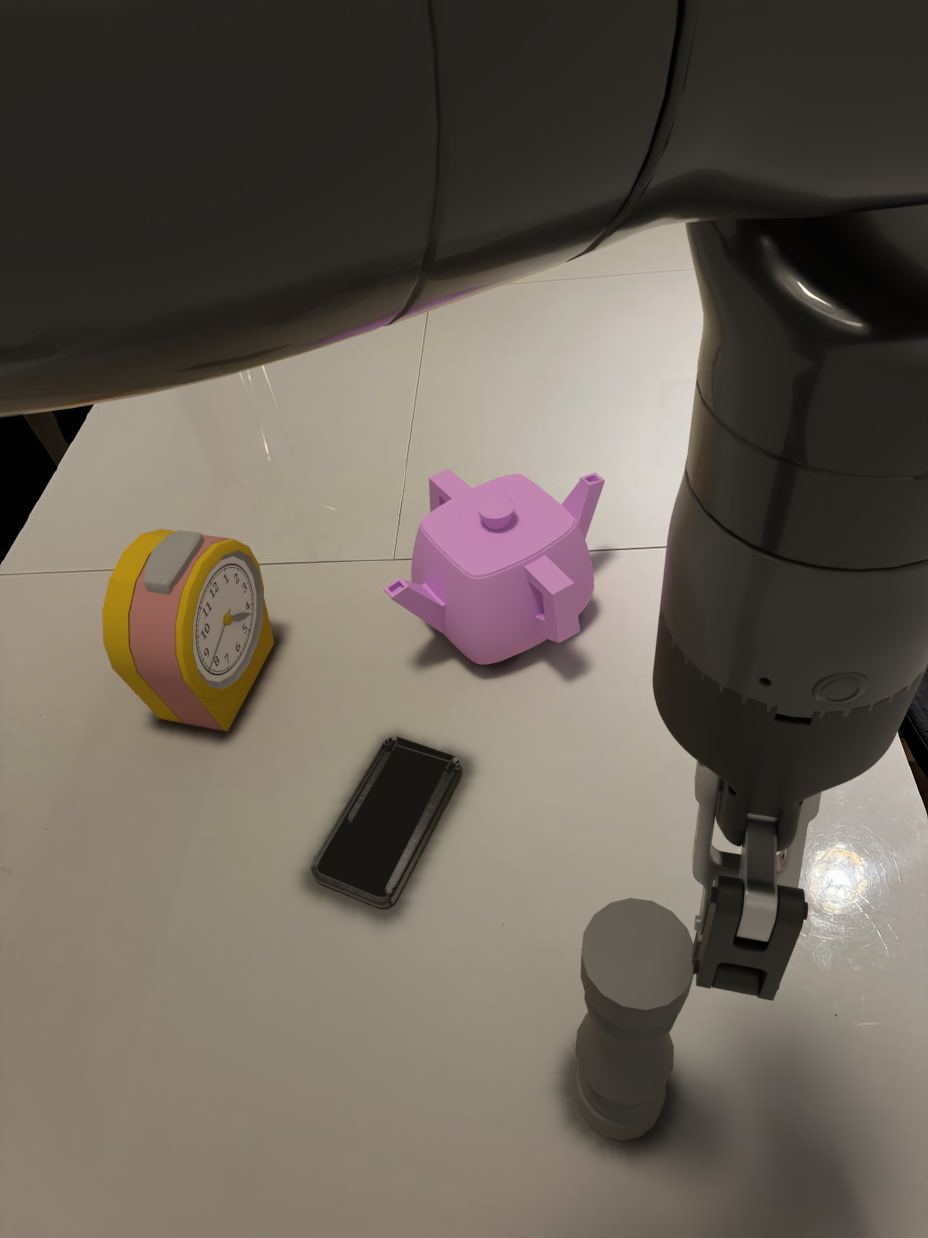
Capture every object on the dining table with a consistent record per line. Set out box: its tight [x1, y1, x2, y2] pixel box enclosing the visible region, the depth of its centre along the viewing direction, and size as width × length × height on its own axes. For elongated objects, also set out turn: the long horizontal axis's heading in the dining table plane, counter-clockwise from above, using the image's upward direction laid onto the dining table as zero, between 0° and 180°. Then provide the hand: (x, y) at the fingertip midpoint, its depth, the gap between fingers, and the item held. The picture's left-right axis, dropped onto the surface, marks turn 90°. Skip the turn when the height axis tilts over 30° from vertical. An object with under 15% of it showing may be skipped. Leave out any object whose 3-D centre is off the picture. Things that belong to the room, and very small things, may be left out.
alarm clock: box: [101, 528, 275, 732], centre depth 86 cm, size 15×8×18 cm, turn 164°
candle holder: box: [573, 897, 695, 1142], centre depth 55 cm, size 6×6×25 cm
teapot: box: [382, 467, 606, 665], centre depth 90 cm, size 19×18×15 cm
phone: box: [310, 736, 462, 909], centre depth 80 cm, size 8×1×15 cm
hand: (725, 864), depth 38 cm, fingers open, 8 cm apart
